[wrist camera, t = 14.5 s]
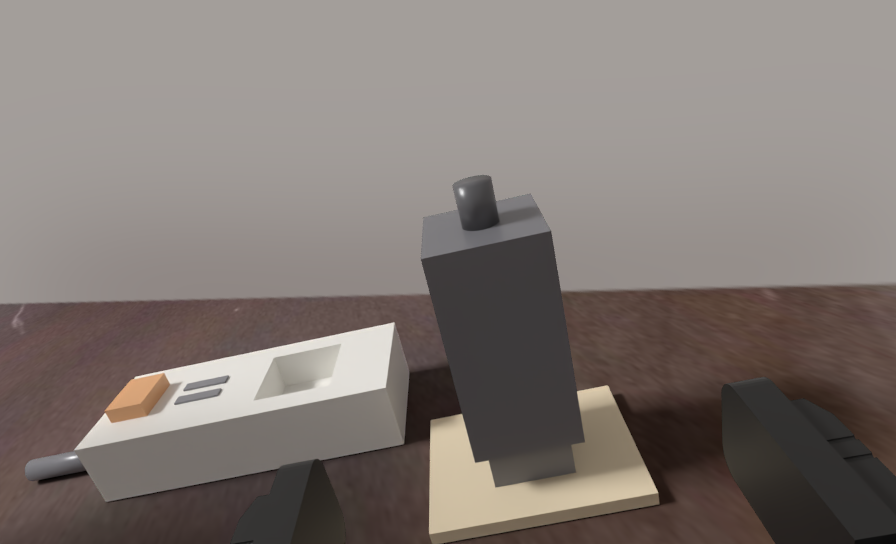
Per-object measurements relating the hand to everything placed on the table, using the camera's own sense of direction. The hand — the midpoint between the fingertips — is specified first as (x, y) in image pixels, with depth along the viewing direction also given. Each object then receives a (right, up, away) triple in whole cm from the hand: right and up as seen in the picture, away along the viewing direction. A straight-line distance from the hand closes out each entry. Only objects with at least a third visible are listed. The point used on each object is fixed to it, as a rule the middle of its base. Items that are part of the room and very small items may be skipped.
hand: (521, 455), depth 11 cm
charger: (+2, -4, +14) cm, 15 cm away
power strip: (-14, -6, +21) cm, 26 cm away
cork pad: (+2, -5, +14) cm, 15 cm away
